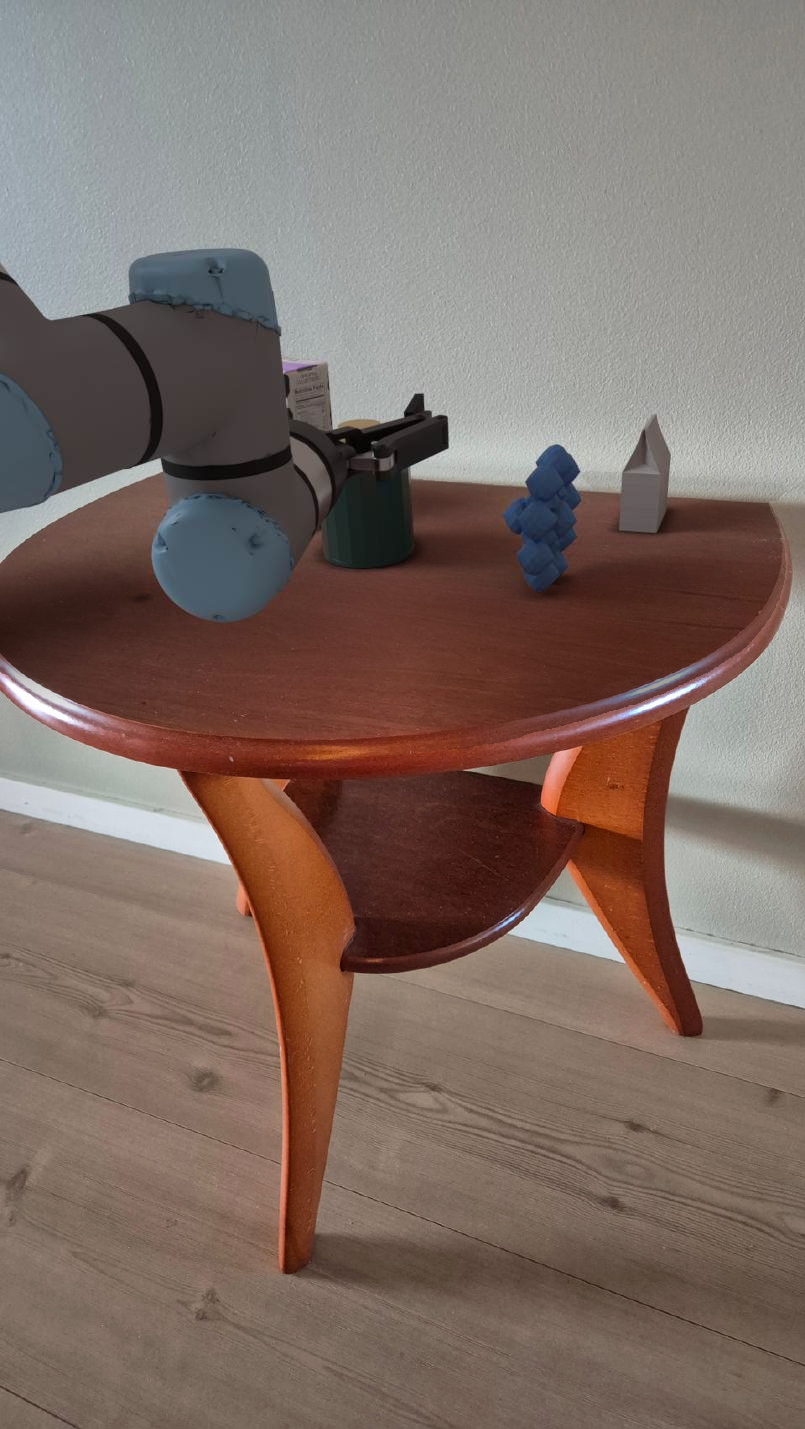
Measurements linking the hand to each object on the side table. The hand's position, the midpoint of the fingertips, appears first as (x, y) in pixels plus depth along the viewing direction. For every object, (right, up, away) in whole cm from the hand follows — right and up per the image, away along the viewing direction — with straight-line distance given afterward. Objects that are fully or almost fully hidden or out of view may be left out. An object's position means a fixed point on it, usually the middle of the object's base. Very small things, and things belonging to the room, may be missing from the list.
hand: (342, 411), depth 86 cm
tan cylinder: (+2, -10, +12) cm, 15 cm away
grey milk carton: (+30, -7, +15) cm, 34 cm away
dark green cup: (+2, -10, +12) cm, 16 cm away
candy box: (-8, -4, +24) cm, 26 cm away
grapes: (+18, -14, +4) cm, 23 cm away
